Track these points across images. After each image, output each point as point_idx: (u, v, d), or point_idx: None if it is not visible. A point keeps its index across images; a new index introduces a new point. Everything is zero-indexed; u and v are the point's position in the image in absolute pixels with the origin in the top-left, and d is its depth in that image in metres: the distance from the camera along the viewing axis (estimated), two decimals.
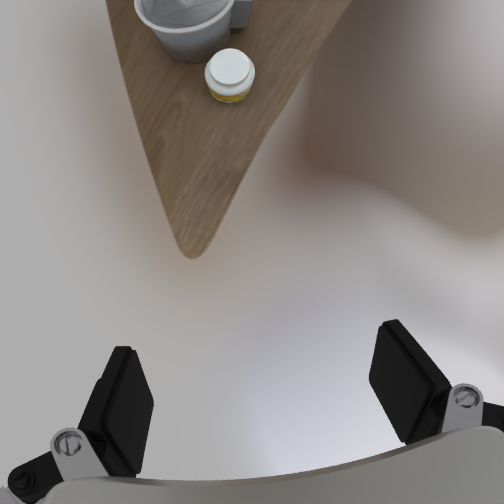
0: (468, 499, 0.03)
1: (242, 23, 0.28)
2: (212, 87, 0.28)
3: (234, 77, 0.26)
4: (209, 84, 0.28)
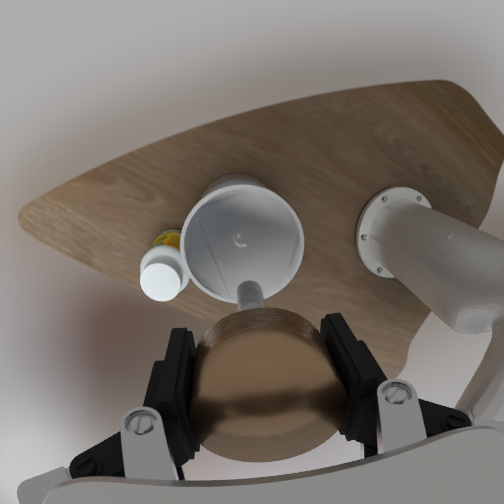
0: (468, 499, 0.03)
1: None
2: (145, 256, 0.29)
3: (147, 287, 0.28)
4: (148, 253, 0.29)
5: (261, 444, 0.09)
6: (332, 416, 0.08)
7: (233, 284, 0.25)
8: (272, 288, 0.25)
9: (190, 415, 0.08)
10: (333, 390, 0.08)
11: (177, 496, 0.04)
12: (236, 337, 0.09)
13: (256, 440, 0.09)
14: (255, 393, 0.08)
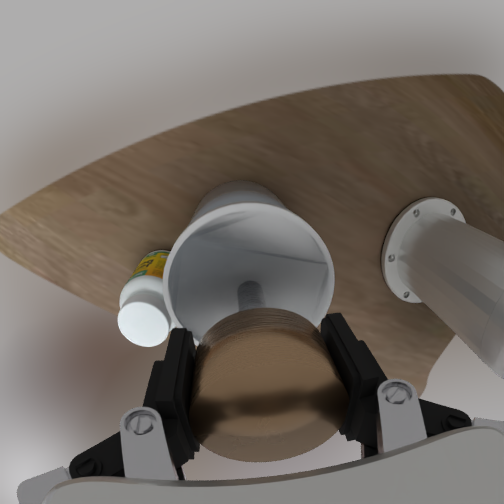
0: (468, 499, 0.03)
1: None
2: (124, 289, 0.23)
3: (127, 330, 0.21)
4: (128, 285, 0.23)
5: (261, 444, 0.09)
6: (332, 416, 0.08)
7: None
8: None
9: (190, 415, 0.08)
10: (333, 390, 0.08)
11: (177, 496, 0.04)
12: (236, 337, 0.09)
13: (256, 440, 0.09)
14: (256, 393, 0.08)
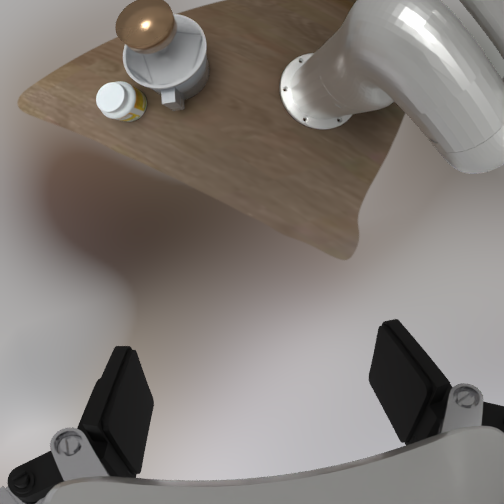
0: (468, 499, 0.03)
1: None
2: None
3: (100, 102, 0.32)
4: None
5: (139, 32, 0.19)
6: (165, 17, 0.19)
7: (155, 73, 0.28)
8: (183, 75, 0.29)
9: (117, 19, 0.18)
10: (164, 5, 0.18)
11: (177, 496, 0.04)
12: None
13: (137, 29, 0.19)
14: (139, 7, 0.18)
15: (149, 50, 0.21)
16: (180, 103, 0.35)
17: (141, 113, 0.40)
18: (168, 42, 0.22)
